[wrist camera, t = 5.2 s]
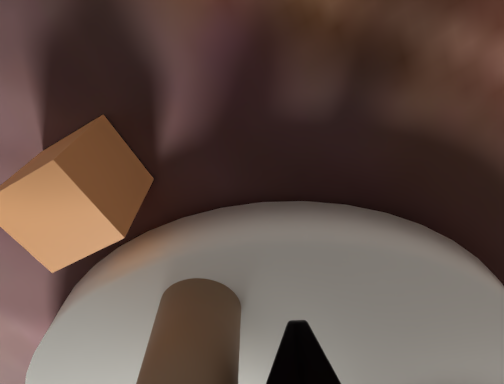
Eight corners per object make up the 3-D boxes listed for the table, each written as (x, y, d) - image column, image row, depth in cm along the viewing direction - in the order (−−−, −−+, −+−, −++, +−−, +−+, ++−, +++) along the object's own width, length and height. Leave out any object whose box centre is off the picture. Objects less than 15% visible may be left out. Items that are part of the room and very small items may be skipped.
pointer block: (154, 178, 11) (124, 237, 9) (95, 209, 12) (52, 272, 10) (103, 114, 10) (53, 159, 8) (42, 151, 11) (-24, 204, 8)
